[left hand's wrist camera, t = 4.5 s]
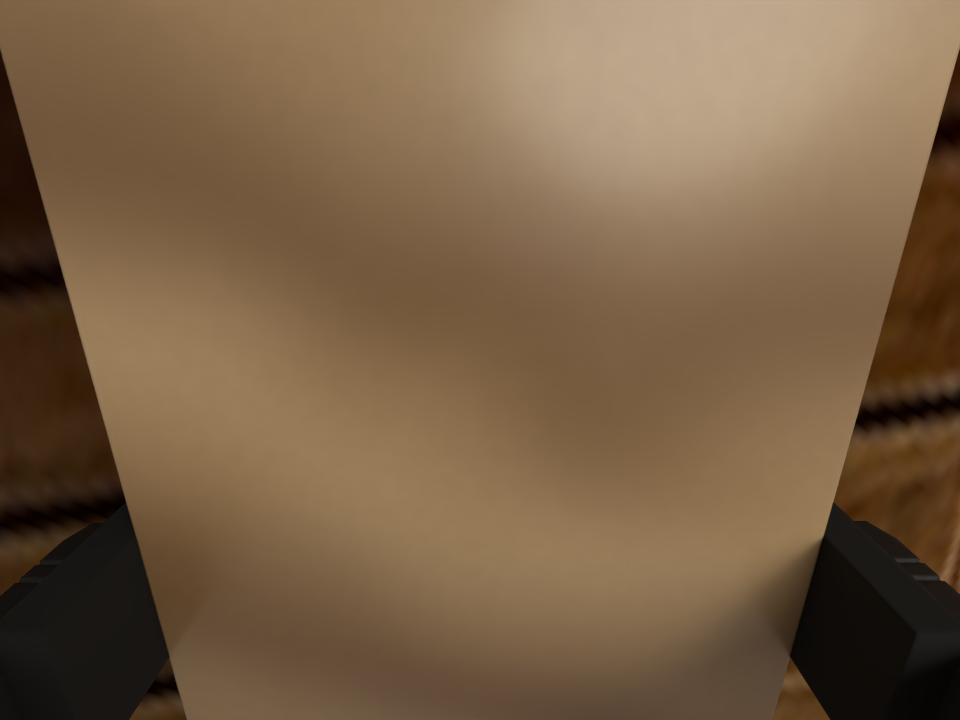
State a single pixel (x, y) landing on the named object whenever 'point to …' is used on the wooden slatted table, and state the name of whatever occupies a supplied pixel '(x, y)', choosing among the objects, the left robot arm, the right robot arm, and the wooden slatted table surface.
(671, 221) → the cabinet
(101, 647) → the left robot arm
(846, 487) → the wooden slatted table surface
